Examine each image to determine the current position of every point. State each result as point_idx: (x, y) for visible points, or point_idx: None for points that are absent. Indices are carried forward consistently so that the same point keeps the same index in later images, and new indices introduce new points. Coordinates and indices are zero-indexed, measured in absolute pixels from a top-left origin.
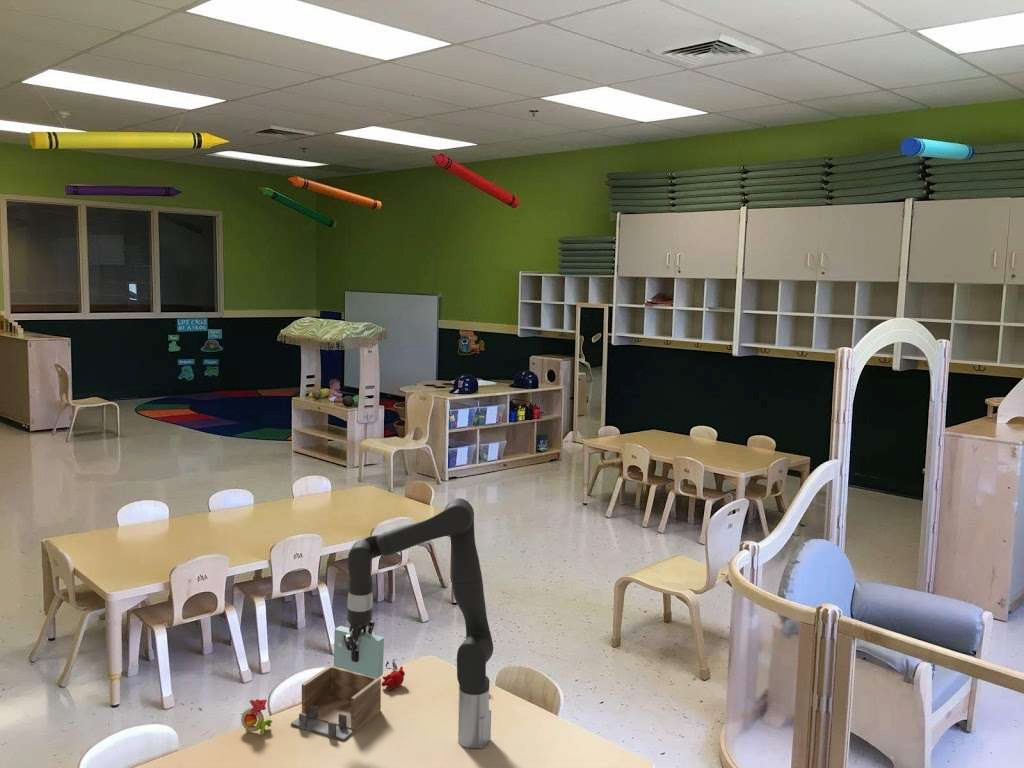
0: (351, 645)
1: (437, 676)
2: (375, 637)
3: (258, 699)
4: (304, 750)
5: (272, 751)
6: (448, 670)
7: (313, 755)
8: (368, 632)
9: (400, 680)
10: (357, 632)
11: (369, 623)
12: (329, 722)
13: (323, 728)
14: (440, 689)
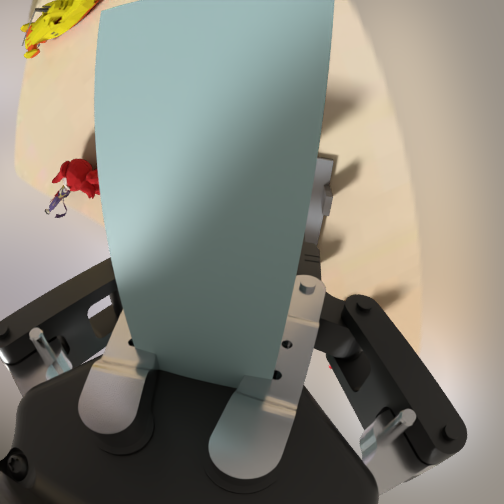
0: (417, 359)
1: (37, 123)
2: (182, 153)
3: (330, 366)
4: (386, 224)
5: (397, 274)
6: (21, 121)
7: (399, 199)
8: (84, 315)
9: (80, 161)
10: (311, 460)
11: (28, 372)
12: (329, 212)
13: (306, 223)
14: (63, 87)
